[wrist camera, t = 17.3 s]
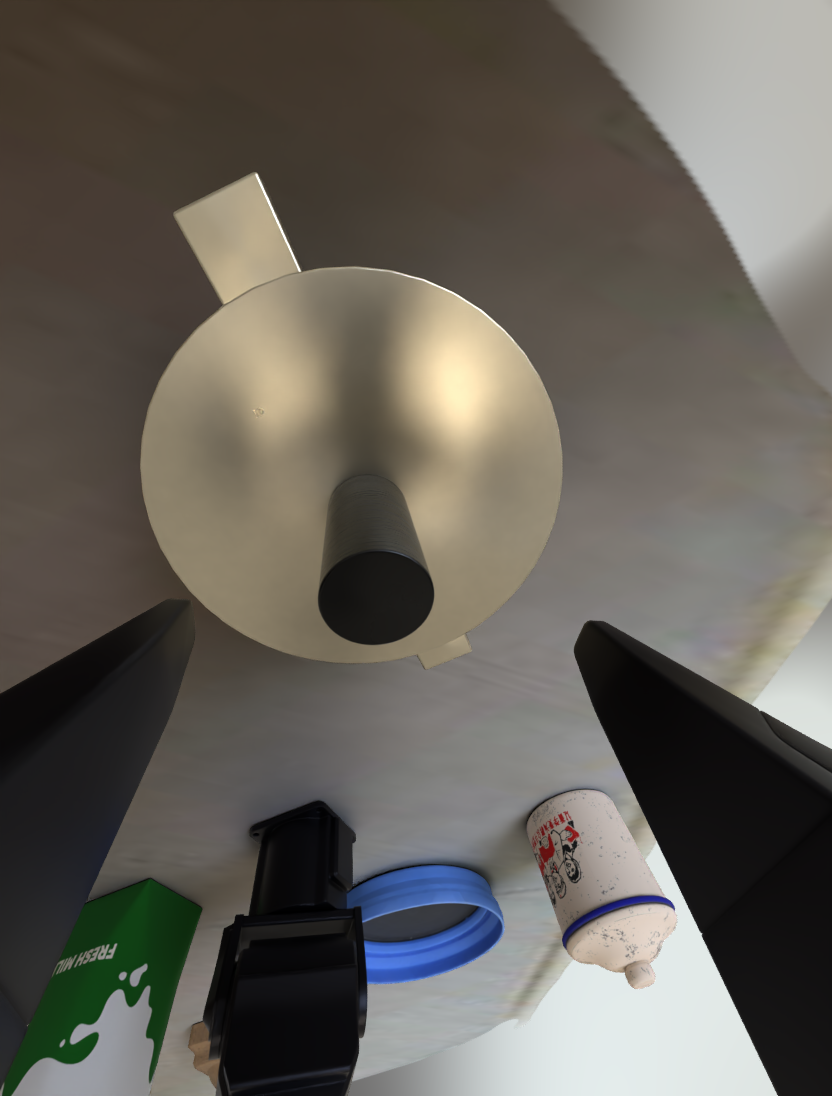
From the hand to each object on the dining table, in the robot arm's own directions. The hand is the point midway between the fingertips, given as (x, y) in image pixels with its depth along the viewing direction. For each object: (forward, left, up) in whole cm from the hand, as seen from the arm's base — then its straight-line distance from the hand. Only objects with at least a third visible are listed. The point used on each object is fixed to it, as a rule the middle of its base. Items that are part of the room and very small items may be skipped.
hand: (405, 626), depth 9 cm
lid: (0, +1, -6) cm, 6 cm away
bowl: (-16, -45, -13) cm, 50 cm away
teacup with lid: (+2, -40, -13) cm, 42 cm away
